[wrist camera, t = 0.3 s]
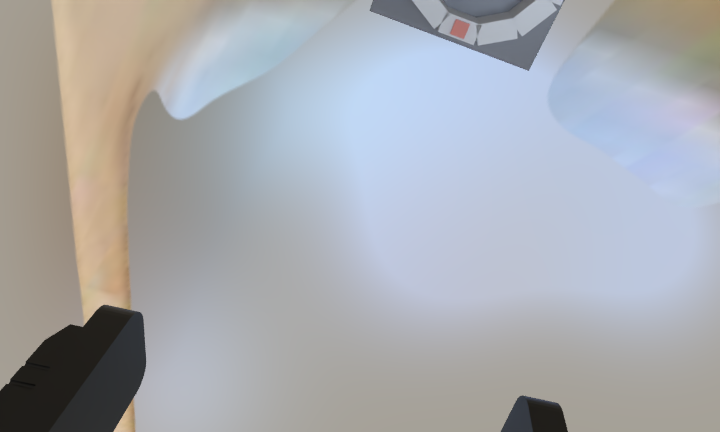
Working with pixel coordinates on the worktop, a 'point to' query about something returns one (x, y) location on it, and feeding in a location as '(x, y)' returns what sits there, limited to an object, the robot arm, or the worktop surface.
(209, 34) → the worktop surface
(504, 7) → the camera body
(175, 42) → the worktop surface
